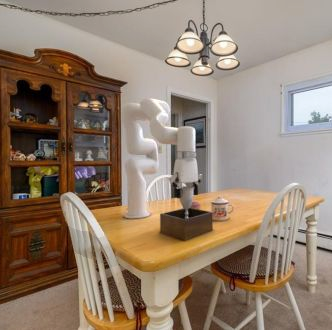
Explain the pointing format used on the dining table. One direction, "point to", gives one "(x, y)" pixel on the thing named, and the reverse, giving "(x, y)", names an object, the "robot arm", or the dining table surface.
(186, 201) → the chalice
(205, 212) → the crate
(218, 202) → the teacup with lid
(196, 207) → the red onion
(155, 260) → the dining table surface
